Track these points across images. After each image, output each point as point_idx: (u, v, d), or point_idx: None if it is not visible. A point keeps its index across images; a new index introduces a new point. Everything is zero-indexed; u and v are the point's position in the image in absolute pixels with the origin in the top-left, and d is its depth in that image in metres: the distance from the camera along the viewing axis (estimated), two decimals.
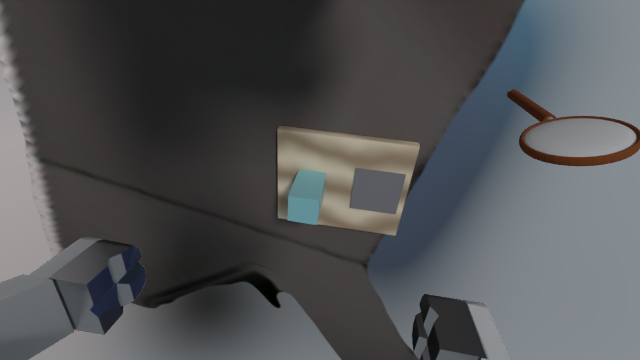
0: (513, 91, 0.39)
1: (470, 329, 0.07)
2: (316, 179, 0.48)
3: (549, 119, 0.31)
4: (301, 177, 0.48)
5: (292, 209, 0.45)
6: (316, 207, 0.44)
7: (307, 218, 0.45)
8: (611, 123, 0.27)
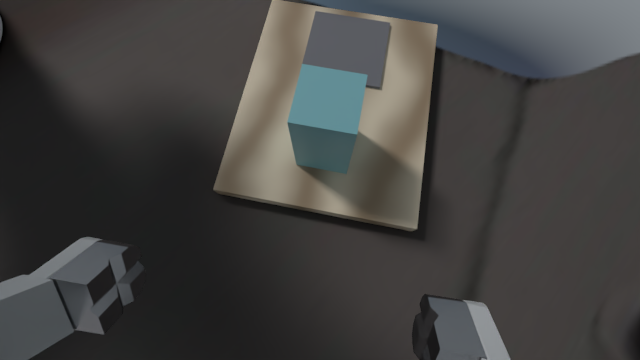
0: None
1: (470, 329, 0.07)
2: None
3: None
4: None
5: (322, 118, 0.20)
6: (319, 70, 0.21)
7: (349, 91, 0.20)
8: None
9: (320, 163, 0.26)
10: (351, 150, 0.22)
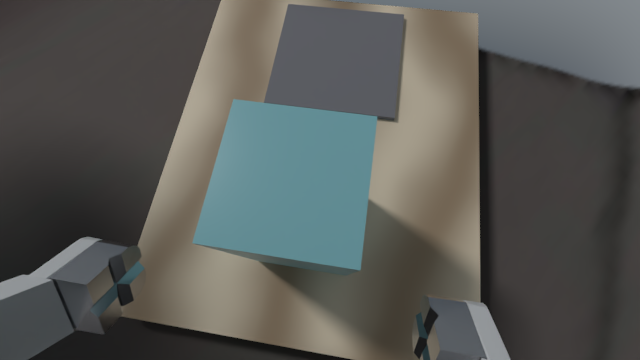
0: None
1: (470, 329, 0.07)
2: None
3: None
4: None
5: (276, 230, 0.08)
6: (270, 112, 0.09)
7: (338, 158, 0.09)
8: None
9: None
10: (350, 272, 0.10)
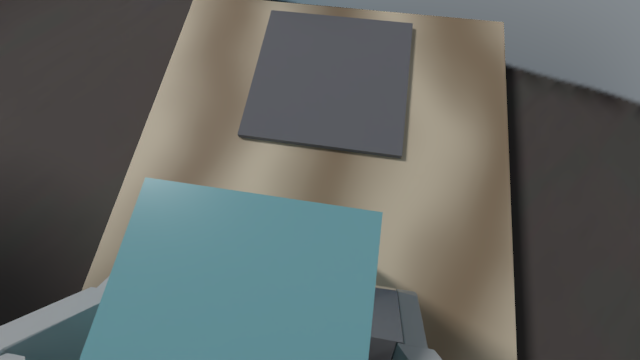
0: None
1: (394, 316, 0.07)
2: None
3: None
4: None
5: None
6: (203, 202, 0.06)
7: (314, 294, 0.05)
8: None
9: None
10: None
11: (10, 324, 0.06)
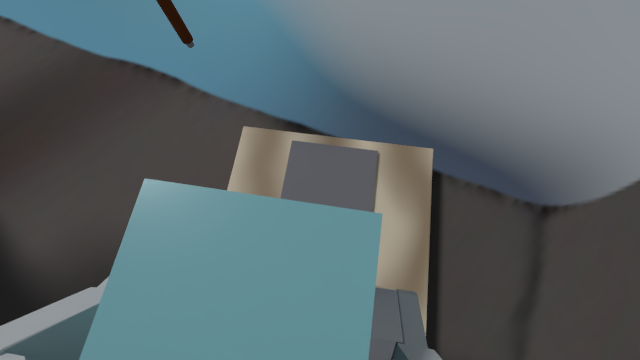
0: (179, 36, 0.33)
1: (394, 316, 0.07)
2: None
3: None
4: None
5: None
6: (203, 204, 0.06)
7: (314, 296, 0.05)
8: None
9: None
10: None
11: (10, 325, 0.06)
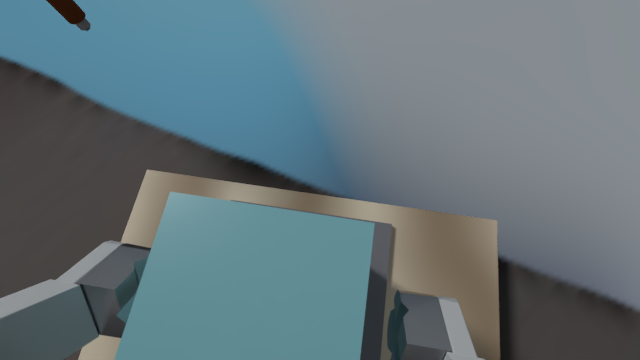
0: None
1: (439, 323, 0.07)
2: None
3: None
4: None
5: None
6: (221, 213, 0.07)
7: (316, 293, 0.06)
8: None
9: None
10: None
11: None
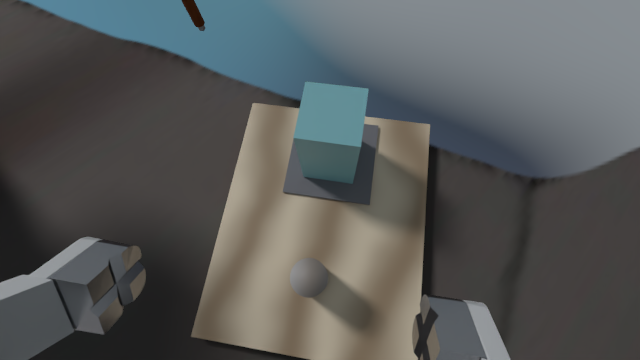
0: (192, 20, 0.35)
1: (470, 329, 0.07)
2: None
3: None
4: None
5: (327, 133, 0.20)
6: (322, 87, 0.22)
7: (351, 106, 0.21)
8: None
9: (326, 174, 0.26)
10: (356, 161, 0.23)
11: None
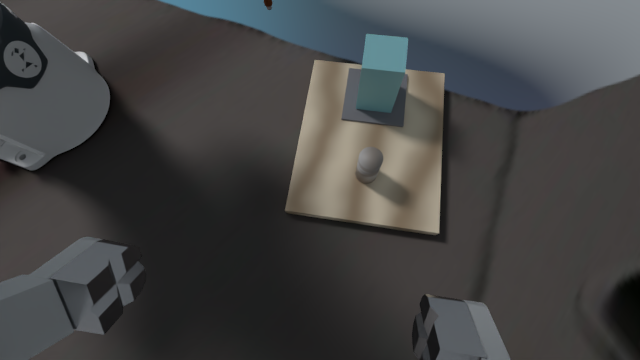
0: (264, 1, 0.46)
1: (470, 329, 0.07)
2: None
3: None
4: None
5: (383, 64, 0.32)
6: (377, 37, 0.33)
7: (397, 48, 0.33)
8: None
9: (374, 104, 0.38)
10: (398, 87, 0.34)
11: None
